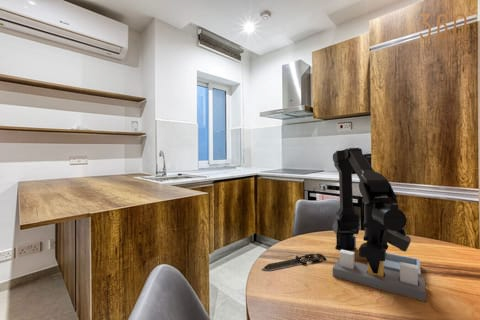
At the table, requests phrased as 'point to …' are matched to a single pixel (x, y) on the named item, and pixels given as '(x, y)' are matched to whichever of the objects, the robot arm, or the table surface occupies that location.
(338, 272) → the fuse holder
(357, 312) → the table surface
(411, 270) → the block
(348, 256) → the fuse left
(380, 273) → the block
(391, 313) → the table surface
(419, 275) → the tray
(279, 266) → the black knife
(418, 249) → the table surface
